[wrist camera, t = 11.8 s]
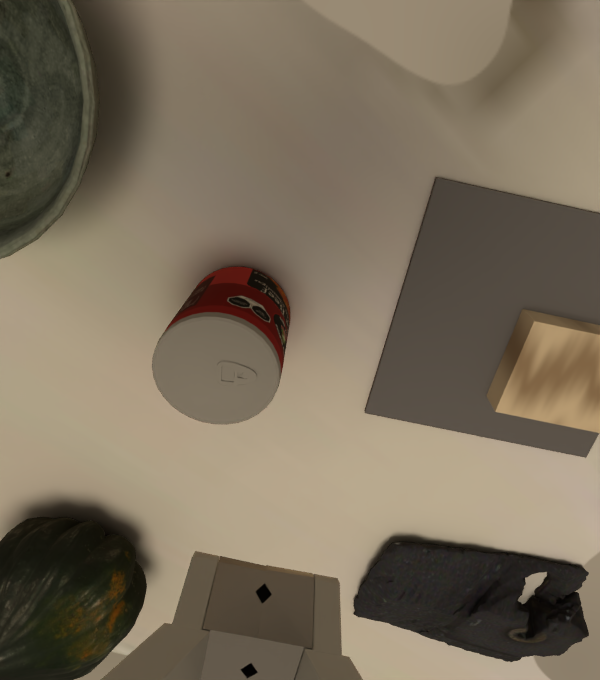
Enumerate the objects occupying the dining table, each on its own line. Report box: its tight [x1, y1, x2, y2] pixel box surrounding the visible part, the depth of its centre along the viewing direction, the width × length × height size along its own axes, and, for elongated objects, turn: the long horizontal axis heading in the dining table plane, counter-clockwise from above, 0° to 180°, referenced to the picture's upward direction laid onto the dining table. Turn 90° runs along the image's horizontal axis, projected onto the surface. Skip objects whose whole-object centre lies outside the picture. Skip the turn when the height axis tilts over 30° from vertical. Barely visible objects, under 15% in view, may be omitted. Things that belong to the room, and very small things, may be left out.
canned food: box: [152, 267, 290, 424], centre depth 37 cm, size 8×8×11 cm
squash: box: [0, 517, 147, 680], centre depth 48 cm, size 14×15×15 cm
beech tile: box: [486, 309, 600, 433], centre depth 41 cm, size 8×2×12 cm
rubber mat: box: [365, 177, 600, 458], centre depth 41 cm, size 20×20×1 cm
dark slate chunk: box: [354, 542, 589, 662], centre depth 52 cm, size 15×22×5 cm
